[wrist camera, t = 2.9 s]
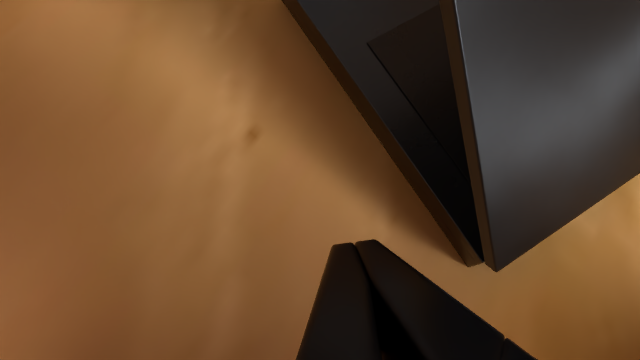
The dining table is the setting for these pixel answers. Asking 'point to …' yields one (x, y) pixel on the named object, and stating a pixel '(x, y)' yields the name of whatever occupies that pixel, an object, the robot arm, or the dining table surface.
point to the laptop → (402, 97)
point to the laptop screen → (543, 111)
